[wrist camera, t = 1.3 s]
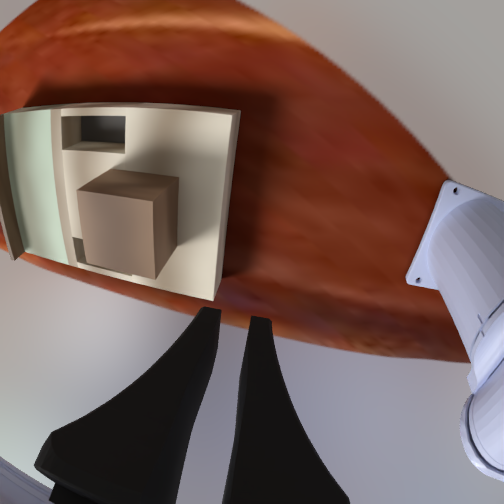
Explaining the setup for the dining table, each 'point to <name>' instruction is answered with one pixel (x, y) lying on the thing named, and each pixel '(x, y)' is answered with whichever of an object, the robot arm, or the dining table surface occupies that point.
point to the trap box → (122, 158)
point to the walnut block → (129, 221)
